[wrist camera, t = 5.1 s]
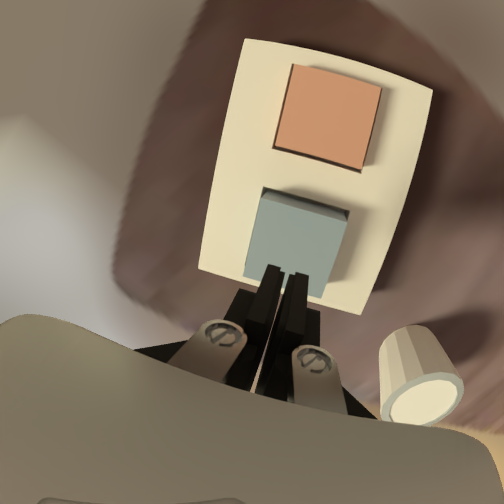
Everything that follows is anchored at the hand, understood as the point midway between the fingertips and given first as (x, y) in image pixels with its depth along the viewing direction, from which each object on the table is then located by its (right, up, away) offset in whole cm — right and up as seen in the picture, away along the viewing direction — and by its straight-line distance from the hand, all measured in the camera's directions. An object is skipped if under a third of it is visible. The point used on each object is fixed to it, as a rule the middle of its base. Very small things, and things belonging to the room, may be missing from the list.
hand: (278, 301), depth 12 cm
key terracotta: (+4, +10, +5) cm, 12 cm away
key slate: (+2, +3, +8) cm, 8 cm away
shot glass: (+13, -7, +12) cm, 19 cm away
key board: (+3, +7, +8) cm, 12 cm away
